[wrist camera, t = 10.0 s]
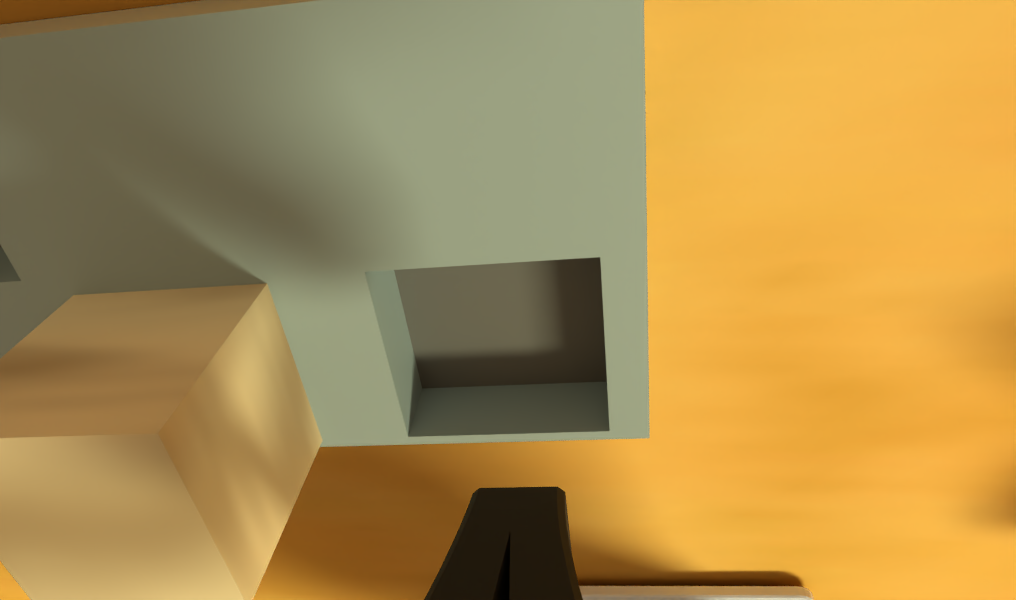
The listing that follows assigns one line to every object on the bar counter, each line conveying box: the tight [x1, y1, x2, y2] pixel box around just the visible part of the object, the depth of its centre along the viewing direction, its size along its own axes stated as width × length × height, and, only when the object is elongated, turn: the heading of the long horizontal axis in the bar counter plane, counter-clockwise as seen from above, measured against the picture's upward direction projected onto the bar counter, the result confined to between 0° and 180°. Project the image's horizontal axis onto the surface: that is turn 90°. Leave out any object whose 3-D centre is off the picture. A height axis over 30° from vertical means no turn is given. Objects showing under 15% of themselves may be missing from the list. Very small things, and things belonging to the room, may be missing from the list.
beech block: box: [0, 284, 323, 600], centre depth 14 cm, size 4×4×4 cm
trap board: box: [0, 0, 649, 447], centre depth 14 cm, size 10×21×4 cm, turn 97°
